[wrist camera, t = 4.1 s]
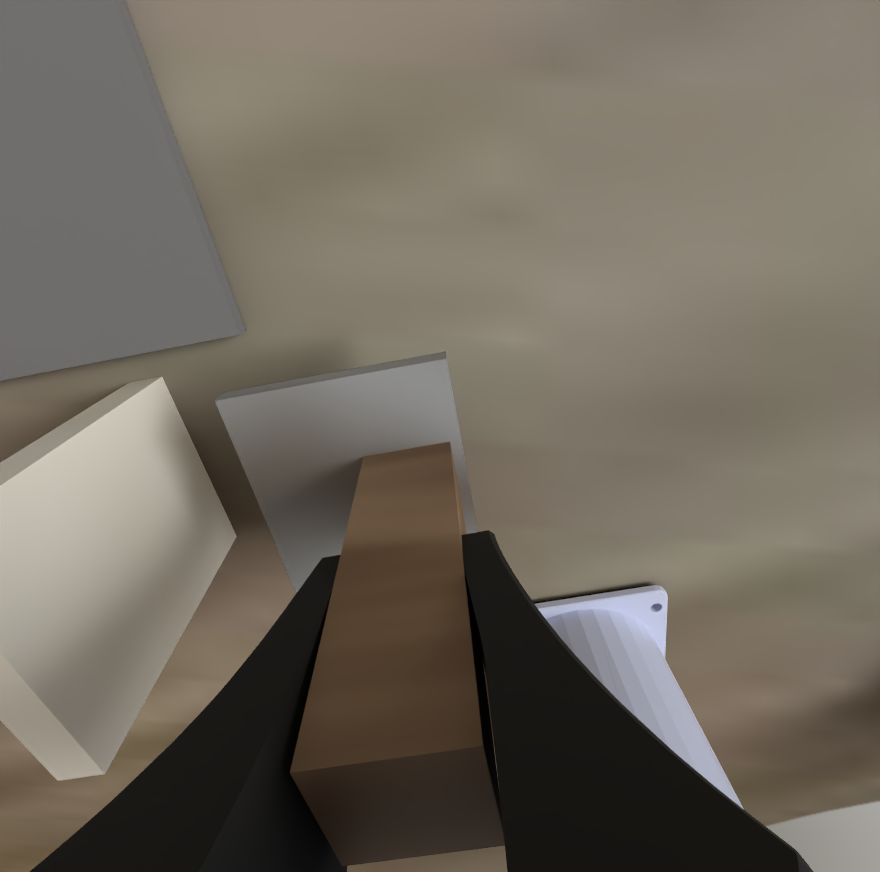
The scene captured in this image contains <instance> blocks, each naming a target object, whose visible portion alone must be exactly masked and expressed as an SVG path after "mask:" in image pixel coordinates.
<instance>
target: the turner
mask: <svg viewBox="0 0 880 872" xmlns="http://www.w3.org/2000/svg"><path fill="white" fill-rule="evenodd" d="M215 403H216V405H217V407H218V410H219V412H220V415H221V417H222V419H223V422H224V424H225V426H226V429H227V431H228V433H229V436H230V438H231V440H232V443H233V445H234V448H235V450H236V452H237V455H238V457H239V459H240V462H241V464H242V466H243V469H244V471H245V473H246V476H247V478H248V481H249V483H250V485H251V488H252V490H253V492H254V495H255V497H256V499H257V502H258V504H259V506H260V509H261V511H262V513H263V516H264V518H265V521H266V523H267V525H268V528H269V530H270V532H271V535H272V537H273V539H274V542H275V544H276V546H277V549H278V551H279V554H280V556H281V558H282V561H283V563H284V565H285V568H286V570H287V572H288V575H289V577H290V579H291V582H292V584H293V587H294V589H295V591H296V593H297V592H298V591H299V589H300V588H301V586H302V585H303V584H304V582H305V581H306V579H307V578H308V577H309V575H310V574H311V572H312V571H313V570H314V568H315V567H316V566H317V564H318V563H319V562H320V560H321V559H322V558H324V557H330V556H336V555H340V559H339V564H338V568H337V572H336V576H335V581H334V585H333V589H332V594H331V598H330V602H329V606H328V611H327V615H326V619H325V624H324V628H323V632H322V636H321V641H320V645H319V649H318V654H317V658H316V662H315V667H314V671H313V675H312V679H311V684H310V688H309V692H308V697H307V701H306V705H305V709H304V714H303V718H302V722H301V727H300V731H299V735H298V739H297V744H296V748H295V752H294V757H293V761H292V765H291V769H290V774H291V776H292V778H293V780H294V781H295V783H296V785H297V787H298V789H299V790H300V792H301V794H302V796H303V797H304V799H305V801H306V803H307V805H308V806H309V808H310V810H311V812H312V813H313V815H314V817H315V819H316V821H317V822H318V824H319V826H320V828H321V830H322V831H323V833H324V835H325V837H326V838H327V840H328V842H329V844H330V846H331V847H332V849H333V851H334V853H335V854H336V856H337V858H338V860H339V862H340V863H341V865H342V866H348V865H356V864H364V863H371V862H379V861H387V860H395V859H403V858H410V857H418V856H426V855H434V854H442V853H449V852H457V851H465V850H473V849H481V848H488V847H496V846H504V845H505V840H504V830H503V820H502V810H501V801H500V793H499V785H498V778H497V770H496V762H495V754H494V746H493V738H492V731H491V723H490V715H489V707H488V699H487V691H486V683H485V676H484V668H483V660H482V654H481V649H480V644H479V639H478V634H477V629H476V624H475V619H474V615H473V610H472V605H471V600H470V595H469V590H468V585H467V580H466V576H465V571H464V564H463V551H462V536H461V535H464V534H470V533H476V532H478V530H477V525H476V519H475V514H474V508H473V502H472V497H471V491H470V486H469V480H468V475H467V469H466V463H465V458H464V452H463V447H462V441H461V435H460V430H459V424H458V419H457V413H456V408H455V402H454V396H453V391H452V385H451V380H450V374H449V368H448V363H447V357H446V352H441V353H436V354H430V355H425V356H419V357H414V358H408V359H403V360H398V361H392V362H387V363H381V364H376V365H370V366H365V367H359V368H354V369H349V370H343V371H338V372H332V373H327V374H321V375H316V376H310V377H305V378H300V379H294V380H289V381H283V382H278V383H272V384H267V385H261V386H256V387H251V388H245V389H240V390H234V391H229V392H224V393H223V394H221V395H220V396H219V397H218V398H217V399H216V400H215Z"/></svg>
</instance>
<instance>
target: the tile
mask: <svg viewBox="0 0 880 872" xmlns="http://www.w3.org/2000/svg"><path fill="white" fill-rule="evenodd" d="M236 537H237V536H236V534H235V532H234V529H233V527H232V525H231V523H230V521H229V519H228V517H227V514H226V512H225V510H224V508H223V506H222V504H221V502H220V500H219V497H218V495H217V493H216V491H215V489H214V487H213V485H212V482H211V480H210V478H209V476H208V474H207V472H206V470H205V467H204V465H203V463H202V461H201V459H200V457H199V455H198V453H197V450H196V448H195V446H194V444H193V442H192V440H191V438H190V435H189V433H188V431H187V429H186V427H185V425H184V423H183V421H182V418H181V416H180V414H179V412H178V410H177V408H176V406H175V403H174V401H173V399H172V397H171V395H170V393H169V391H168V389H167V386H166V384H165V382H164V380H163V378H162V377H157V378H152V379H146V380H141V381H136V382H130V383H128V384H126V385H124V386H123V387H121V388H120V389H118V390H116V391H115V392H113V393H112V394H110V395H108V396H107V397H105V398H104V399H102V400H100V401H99V402H97V403H95V404H94V405H92V406H91V407H89V408H87V409H86V410H84V411H83V412H81V413H79V414H78V415H76V416H75V417H73V418H71V419H70V420H68V421H66V422H65V423H63V424H62V425H60V426H58V427H57V428H55V429H54V430H52V431H50V432H49V433H47V434H46V435H44V436H42V437H41V438H39V439H38V440H36V441H34V442H33V443H31V444H29V445H28V446H26V447H25V448H23V449H21V450H20V451H18V452H17V453H15V454H13V455H12V456H10V457H9V458H7V459H5V460H4V461H2V462H0V721H1V722H2V723H3V724H4V725H5V726H6V727H7V728H8V729H9V730H10V731H11V732H12V733H13V734H14V735H15V736H16V738H17V739H18V740H19V741H20V742H21V743H22V744H23V745H24V746H25V747H26V748H27V749H28V750H29V751H30V752H31V753H32V754H33V755H34V756H35V757H36V758H37V759H38V761H39V762H40V763H41V764H42V765H43V766H44V767H45V768H46V769H47V770H48V771H49V772H50V773H51V774H52V775H53V776H54V777H55V778H56V779H57V780H58V781H60V780H67V779H74V778H80V777H87V776H94V775H101V774H105V773H106V771H107V769H108V768H109V766H110V764H111V762H112V760H113V759H114V757H115V755H116V753H117V751H118V750H119V748H120V746H121V744H122V742H123V740H124V739H125V737H126V735H127V733H128V731H129V730H130V728H131V726H132V724H133V722H134V721H135V719H136V717H137V715H138V713H139V712H140V710H141V708H142V706H143V704H144V703H145V701H146V699H147V697H148V695H149V694H150V692H151V690H152V688H153V686H154V685H155V683H156V681H157V679H158V677H159V676H160V674H161V672H162V670H163V668H164V667H165V665H166V663H167V661H168V659H169V658H170V656H171V654H172V652H173V650H174V649H175V647H176V645H177V643H178V641H179V640H180V638H181V636H182V634H183V632H184V631H185V629H186V627H187V625H188V623H189V622H190V620H191V618H192V616H193V614H194V613H195V611H196V609H197V607H198V605H199V604H200V602H201V600H202V598H203V596H204V595H205V593H206V591H207V589H208V587H209V586H210V584H211V582H212V580H213V578H214V577H215V575H216V573H217V571H218V569H219V568H220V566H221V564H222V562H223V560H224V559H225V557H226V555H227V553H228V551H229V550H230V548H231V546H232V544H233V542H234V541H235V539H236Z"/></svg>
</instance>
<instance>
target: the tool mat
mask: <svg viewBox="0 0 880 872" xmlns="http://www.w3.org/2000/svg"><path fill="white" fill-rule="evenodd" d="M245 330H246V329H245V326H244V323H243V321H242V318H241V315H240V312H239V310H238V307H237V304H236V302H235V299H234V296H233V293H232V291H231V288H230V285H229V283H228V280H227V277H226V274H225V272H224V269H223V266H222V264H221V261H220V258H219V255H218V253H217V250H216V247H215V245H214V242H213V239H212V236H211V234H210V231H209V228H208V226H207V223H206V220H205V217H204V215H203V212H202V209H201V207H200V204H199V201H198V198H197V196H196V193H195V190H194V188H193V185H192V182H191V179H190V177H189V174H188V171H187V169H186V166H185V163H184V160H183V158H182V155H181V152H180V149H179V147H178V144H177V141H176V139H175V136H174V133H173V130H172V128H171V125H170V122H169V120H168V117H167V114H166V111H165V109H164V106H163V103H162V101H161V98H160V95H159V92H158V90H157V87H156V84H155V82H154V79H153V76H152V73H151V71H150V68H149V65H148V63H147V60H146V57H145V54H144V52H143V49H142V46H141V44H140V41H139V38H138V35H137V33H136V30H135V27H134V25H133V22H132V19H131V16H130V14H129V11H128V8H127V6H126V3H125V0H0V381H2V380H8V379H13V378H18V377H23V376H28V375H34V374H39V373H44V372H49V371H54V370H59V369H65V368H70V367H75V366H80V365H85V364H91V363H96V362H101V361H106V360H111V359H117V358H122V357H127V356H132V355H137V354H142V353H148V352H153V351H158V350H163V349H168V348H174V347H179V346H184V345H189V344H194V343H200V342H205V341H210V340H215V339H220V338H225V337H231V336H236V335H240V334H241V333H243V332H244V331H245Z"/></svg>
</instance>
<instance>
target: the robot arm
mask: <svg viewBox="0 0 880 872" xmlns="http://www.w3.org/2000/svg"><path fill="white" fill-rule="evenodd" d="M461 536H462V551H463V564H464V571H465V576H466V580H467V585H468V590H469V595H470V600H471V605H472V610H473V615H474V619H475V624H476V629H477V634H478V639H479V644H480V649H481V654H482V659H483V663H484V668H485V672H486V677H487V683H488V692H489V700H490V709H491V718H492V727H493V736H494V745H495V754H496V763H497V773H498V782H499V791H500V801H501V810H502V820H503V830H504V840H505V850H506V860H507V870H508V872H813V871H812V869H811V868H810V867H809V865H808V864H807V863H806V862H805V860H804V859H803V858H802V857H801V855H800V854H799V853H798V852H797V851H796V850H795V849H794V848H792V847H791V846H790V845H789V844H787V843H786V842H785V841H784V840H782V839H781V838H779V837H778V836H777V835H776V834H774V833H773V832H772V831H771V830H769V829H768V828H767V827H765V826H764V825H763V824H761V823H760V822H759V821H758V820H756V819H755V818H754V817H752V816H751V815H750V814H749V813H747V812H746V811H745V810H744V809H743V807H742V805H741V803H740V801H739V799H738V797H737V796H736V794H735V792H734V790H733V788H732V786H731V784H730V782H729V780H728V778H727V776H726V775H725V773H724V771H723V769H722V767H721V765H720V763H719V761H718V759H717V757H716V755H715V754H714V752H713V750H712V748H711V746H710V744H709V742H708V740H707V738H706V736H705V734H704V733H703V731H702V729H701V727H700V725H699V723H698V721H697V719H696V717H695V715H694V713H693V712H692V710H691V708H690V706H689V704H688V702H687V700H686V698H685V696H684V694H683V692H682V691H681V689H680V687H679V685H678V683H677V681H676V679H675V677H674V675H673V673H672V671H671V670H670V668H669V666H668V664H667V662H666V660H665V647H666V624H667V601H668V596H667V593H666V592H665V590H664V588H662V587H661V586H658V585H652V586H646V587H639V588H633V589H626V590H620V591H613V592H607V593H601V594H594V595H588V596H581V597H575V598H569V599H562V600H556V601H549V602H543V603H537V604H534V603H533V601H532V600H531V598H530V597H529V596H528V594H527V593H526V591H525V590H524V588H523V587H522V585H521V584H520V583H519V581H518V579H517V578H516V576H515V575H514V573H513V571H512V570H511V568H510V566H509V565H508V563H507V561H506V559H505V558H504V556H503V554H502V552H501V550H500V548H499V546H498V543H497V541H496V538H495V535H494V534H493V533H492V532H490V531H489V530H488V531H482V532H476V533H470V534H464V535H461ZM339 559H340V555H336V556H330V557H324V558H322V559H321V560H320V562H319V563H318V564H317V566H316V567H315V568H314V570H313V571H312V572H311V574H310V575H309V577H308V578H307V579H306V581H305V582H304V584H303V585H302V586H301V588H300V589H299V591H298V592H297V593H296V595H295V596H294V598H293V599H292V600H291V602H290V603H289V605H288V606H287V607H286V609H285V610H284V612H283V613H282V614H281V616H280V617H279V618H278V620H277V621H276V622H275V624H274V625H273V626H272V628H271V629H270V630H269V632H268V633H267V634H266V636H265V637H264V638H263V640H262V641H261V642H260V644H259V645H258V646H257V647H256V649H255V650H254V651H253V652H252V653H251V655H250V656H249V657H248V658H247V660H246V661H245V662H244V663H243V665H242V666H241V667H240V668H239V670H238V671H237V672H236V673H235V674H234V676H233V677H232V678H231V679H230V681H229V682H228V683H227V684H226V685H225V686H224V688H223V689H222V690H221V691H220V692H219V693H218V694H217V696H216V697H215V698H214V699H213V700H212V701H211V702H210V703H209V705H208V706H207V707H206V708H205V709H204V710H203V711H202V712H201V713H200V714H199V715H198V716H197V717H196V719H195V720H194V721H193V722H192V723H191V724H190V725H189V726H188V727H187V728H186V729H185V730H184V731H183V732H182V733H181V734H180V735H179V736H178V737H177V739H176V740H175V741H174V742H173V743H172V744H171V745H170V746H169V747H168V748H166V749H165V750H164V751H163V752H162V753H161V754H160V755H159V756H158V757H157V758H156V759H155V760H154V761H153V762H152V763H151V764H150V765H149V766H148V767H147V768H146V769H145V770H144V771H143V772H142V773H141V774H139V775H138V776H137V777H136V778H135V779H134V780H133V781H132V782H131V783H130V784H129V785H128V786H127V787H126V788H125V789H124V790H123V791H122V792H121V793H120V794H119V795H118V796H116V797H115V798H114V799H113V800H112V801H111V802H110V803H109V804H108V805H107V806H105V807H104V808H103V809H102V810H101V811H100V812H99V813H98V814H96V815H95V816H94V817H93V818H92V819H91V820H90V821H89V822H87V823H86V824H85V825H84V826H83V827H82V828H81V829H80V830H78V831H77V832H76V833H75V834H74V835H73V836H71V837H70V838H69V839H68V840H67V841H66V842H64V843H63V844H62V845H61V846H60V847H59V848H57V849H56V850H55V851H54V852H53V853H51V854H50V855H49V856H48V857H47V858H46V859H44V860H43V861H42V862H41V863H40V864H38V865H37V866H36V867H35V868H34V869H32V870H31V871H30V872H347V866H342V865H341V863H340V862H339V860H338V858H337V856H336V854H335V853H334V851H333V849H332V847H331V846H330V844H329V842H328V840H327V838H326V837H325V835H324V833H323V831H322V830H321V828H320V826H319V824H318V822H317V821H316V819H315V817H314V815H313V813H312V812H311V810H310V808H309V806H308V805H307V803H306V801H305V799H304V797H303V796H302V794H301V792H300V790H299V789H298V787H297V785H296V783H295V781H294V780H293V778H292V776H291V774H290V769H291V765H292V761H293V757H294V752H295V748H296V744H297V739H298V735H299V731H300V727H301V722H302V718H303V714H304V709H305V705H306V701H307V697H308V692H309V688H310V684H311V679H312V675H313V671H314V667H315V662H316V658H317V654H318V649H319V645H320V641H321V636H322V632H323V628H324V624H325V619H326V615H327V611H328V606H329V602H330V598H331V594H332V589H333V585H334V581H335V576H336V572H337V568H338V564H339ZM653 604H655V605H653Z"/></svg>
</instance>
